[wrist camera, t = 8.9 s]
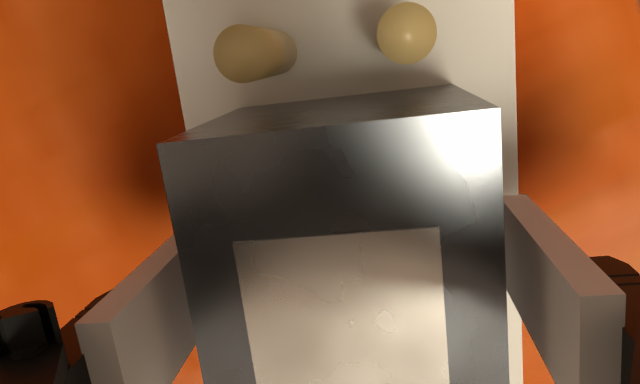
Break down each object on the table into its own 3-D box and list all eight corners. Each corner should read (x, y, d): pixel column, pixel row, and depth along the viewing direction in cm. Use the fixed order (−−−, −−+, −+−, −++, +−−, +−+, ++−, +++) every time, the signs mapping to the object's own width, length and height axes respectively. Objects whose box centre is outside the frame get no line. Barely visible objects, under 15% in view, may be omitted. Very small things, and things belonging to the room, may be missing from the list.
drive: (240, 107, 18) (154, 144, 11) (452, 84, 17) (501, 108, 10) (277, 344, 20) (224, 496, 13) (466, 335, 19) (513, 494, 12)
